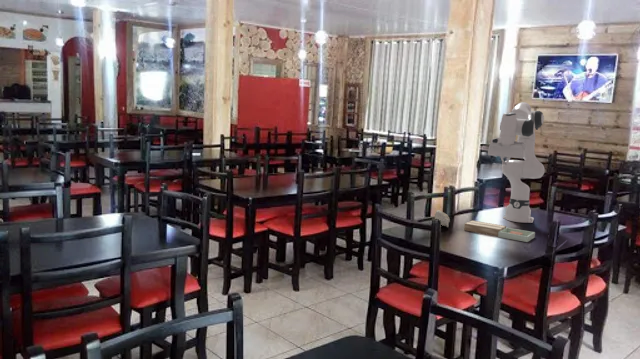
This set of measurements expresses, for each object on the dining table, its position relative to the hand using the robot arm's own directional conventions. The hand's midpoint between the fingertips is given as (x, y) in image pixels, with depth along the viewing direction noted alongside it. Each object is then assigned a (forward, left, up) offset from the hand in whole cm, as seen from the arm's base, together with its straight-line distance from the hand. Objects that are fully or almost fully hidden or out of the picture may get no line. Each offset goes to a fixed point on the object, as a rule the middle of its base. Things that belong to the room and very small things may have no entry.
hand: (504, 164), depth 317 cm
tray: (+9, +13, -39) cm, 42 cm away
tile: (+9, +13, -37) cm, 40 cm away
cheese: (+26, -28, -40) cm, 55 cm away
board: (+9, -5, -39) cm, 40 cm away
